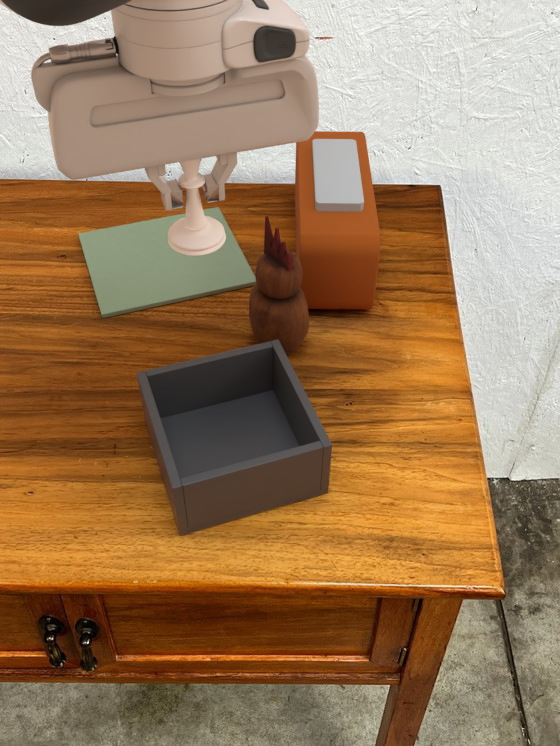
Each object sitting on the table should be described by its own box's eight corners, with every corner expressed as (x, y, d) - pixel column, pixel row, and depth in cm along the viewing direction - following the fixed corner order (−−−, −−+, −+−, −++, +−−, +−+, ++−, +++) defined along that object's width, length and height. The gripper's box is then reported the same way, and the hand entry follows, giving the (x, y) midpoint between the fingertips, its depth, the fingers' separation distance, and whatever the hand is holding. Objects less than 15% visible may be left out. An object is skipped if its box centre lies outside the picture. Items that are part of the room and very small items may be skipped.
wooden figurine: (243, 328, 84) (239, 210, 74) (294, 317, 86) (297, 201, 75) (261, 370, 80) (259, 252, 69) (314, 358, 81) (320, 240, 70)
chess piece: (226, 221, 68) (220, 114, 60) (225, 255, 64) (218, 146, 57) (170, 222, 68) (157, 114, 60) (165, 256, 64) (151, 146, 57)
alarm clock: (372, 317, 86) (383, 232, 78) (297, 316, 86) (300, 231, 78) (357, 196, 103) (365, 116, 94) (294, 196, 102) (296, 115, 94)
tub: (179, 536, 66) (172, 488, 61) (145, 421, 75) (136, 372, 70) (328, 493, 69) (332, 444, 64) (278, 388, 78) (278, 338, 73)
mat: (102, 318, 85) (101, 314, 85) (78, 237, 96) (77, 233, 95) (257, 285, 90) (257, 281, 89) (218, 210, 100) (218, 206, 100)
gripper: (29, 70, 49) (71, 248, 59) (331, 29, 54) (322, 200, 64) (19, 31, 53) (59, 203, 63) (300, -4, 58) (296, 162, 68)
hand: (193, 201), depth 63 cm, fingers closed on chess piece
